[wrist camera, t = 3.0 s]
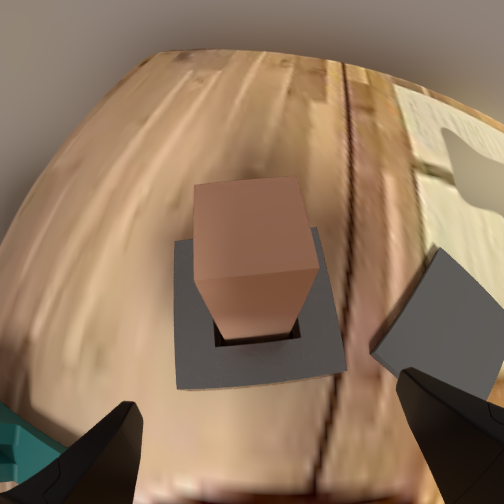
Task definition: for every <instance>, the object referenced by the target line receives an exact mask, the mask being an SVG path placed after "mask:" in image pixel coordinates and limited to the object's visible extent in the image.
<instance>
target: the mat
mask: <svg viewBox="0 0 504 504" xmlns="http://www.w3.org/2000/svg"><path fill="white" fill-rule="evenodd" d="M370 355H371V356H372V357H374V358H375V359H376V360H377V361H378V362H379V363H380V364H382V365H383V366H384V367H385V368H386V369H387V370H388V371H390V372H391V373H392V374H393V375H394V376H395V377H397V378H399V374H400V371H401V370H402V369H405V368H408V367H414V368H416V369H418V370H420V371H422V372H424V373H426V374H428V375H431V376H433V377H435V378H437V379H439V380H441V381H444V382H446V383H448V384H450V385H452V386H454V387H457V388H459V389H461V390H463V391H465V392H468V393H470V394H472V395H474V396H477V397H479V398H481V399H483V400H487V398H488V396H489V394H490V392H491V389H492V387H493V385H494V383H495V380H496V378H497V376H498V373H499V371H500V368H501V366H502V363H503V361H504V309H503V308H502V307H501V306H500V305H499V304H498V303H497V302H496V301H495V299H494V298H493V297H492V296H491V295H490V294H489V293H488V292H487V291H486V290H485V289H484V288H483V287H482V286H481V285H480V284H479V283H478V282H477V281H476V280H475V279H474V278H473V277H472V276H471V275H470V274H469V273H468V272H467V271H466V270H465V269H464V268H463V267H462V266H461V265H460V264H458V263H457V262H456V261H455V260H454V259H453V258H452V257H451V256H450V255H449V254H448V253H446V252H445V251H444V250H443V249H442V248H441V247H440V248H439V249H438V250H437V251H436V253H435V254H434V256H433V258H432V260H431V262H430V264H429V265H428V267H427V269H426V271H425V273H424V274H423V276H422V278H421V279H420V281H419V283H418V284H417V286H416V288H415V289H414V291H413V293H412V294H411V296H410V298H409V299H408V301H407V302H406V304H405V305H404V307H403V308H402V310H401V312H400V313H399V315H398V316H397V318H396V319H395V321H394V322H393V323H392V325H391V326H390V328H389V329H388V331H387V332H386V333H385V335H384V336H383V338H382V339H381V340H380V342H379V343H378V345H377V346H376V347H375V349H374V350H373V351H372V353H371V354H370Z"/></svg>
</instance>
